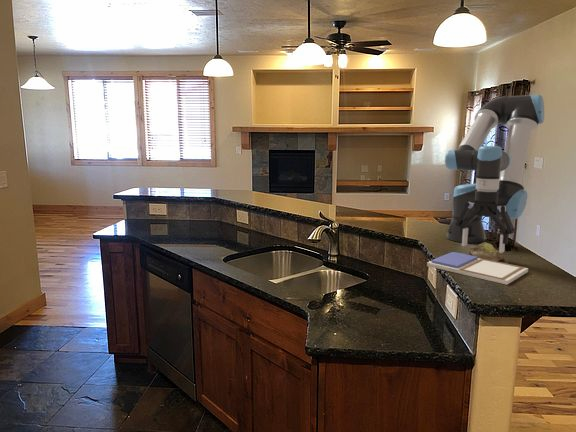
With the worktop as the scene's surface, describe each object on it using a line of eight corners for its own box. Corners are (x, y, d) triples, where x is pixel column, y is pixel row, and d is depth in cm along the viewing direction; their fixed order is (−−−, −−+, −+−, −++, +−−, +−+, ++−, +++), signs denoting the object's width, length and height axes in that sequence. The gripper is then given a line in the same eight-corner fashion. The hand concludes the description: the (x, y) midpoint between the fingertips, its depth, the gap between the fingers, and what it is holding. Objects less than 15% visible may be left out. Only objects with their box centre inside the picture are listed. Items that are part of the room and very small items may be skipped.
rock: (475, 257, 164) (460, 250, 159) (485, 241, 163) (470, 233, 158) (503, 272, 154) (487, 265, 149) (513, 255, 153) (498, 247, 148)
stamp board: (451, 255, 158) (451, 250, 158) (527, 271, 139) (528, 265, 139) (426, 265, 147) (427, 260, 146) (507, 284, 128) (507, 278, 128)
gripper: (448, 188, 159) (445, 244, 163) (520, 194, 141) (514, 257, 145) (458, 186, 164) (454, 241, 168) (528, 192, 146) (522, 253, 150)
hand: (482, 248), depth 157 cm, fingers open, 13 cm apart
